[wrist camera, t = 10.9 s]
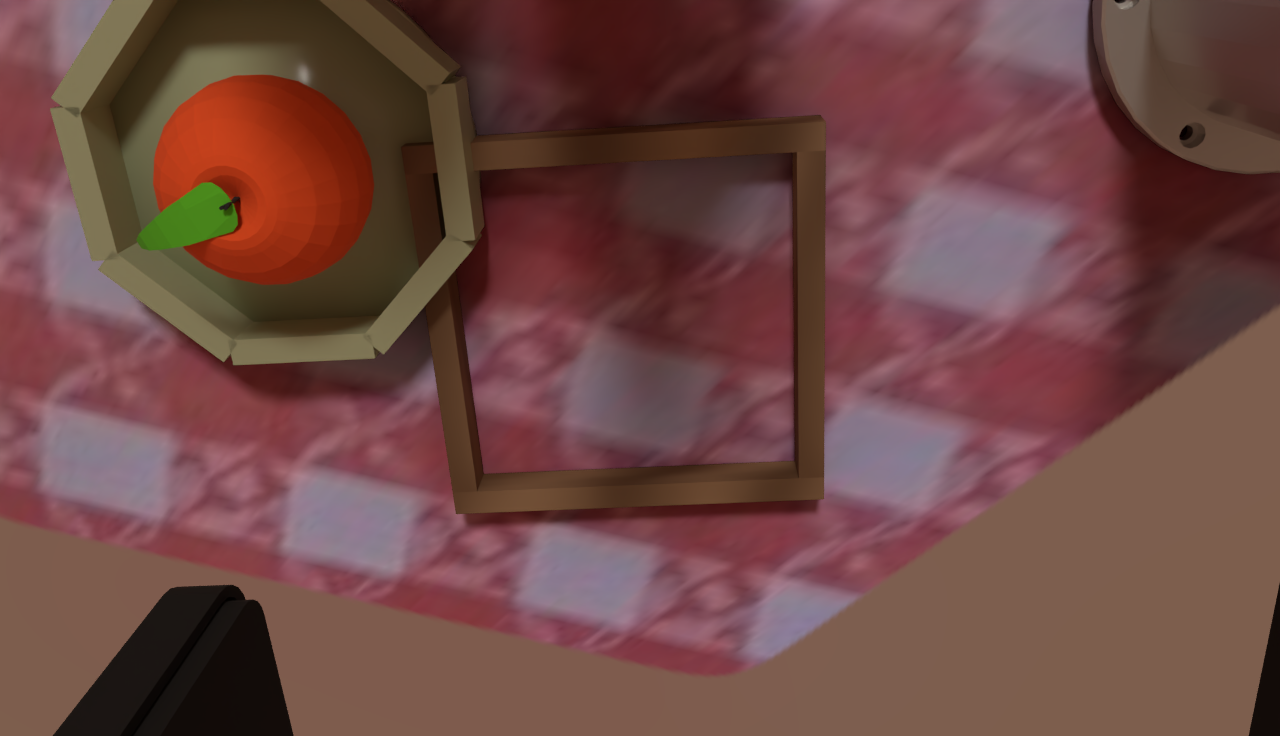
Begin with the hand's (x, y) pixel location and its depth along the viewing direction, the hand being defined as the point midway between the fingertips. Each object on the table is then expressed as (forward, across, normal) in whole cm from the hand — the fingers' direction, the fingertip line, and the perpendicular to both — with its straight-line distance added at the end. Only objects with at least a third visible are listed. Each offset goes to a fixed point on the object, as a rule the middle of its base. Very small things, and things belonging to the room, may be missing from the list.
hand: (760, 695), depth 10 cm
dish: (+30, +15, 0) cm, 34 cm away
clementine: (+30, +15, 0) cm, 33 cm away
